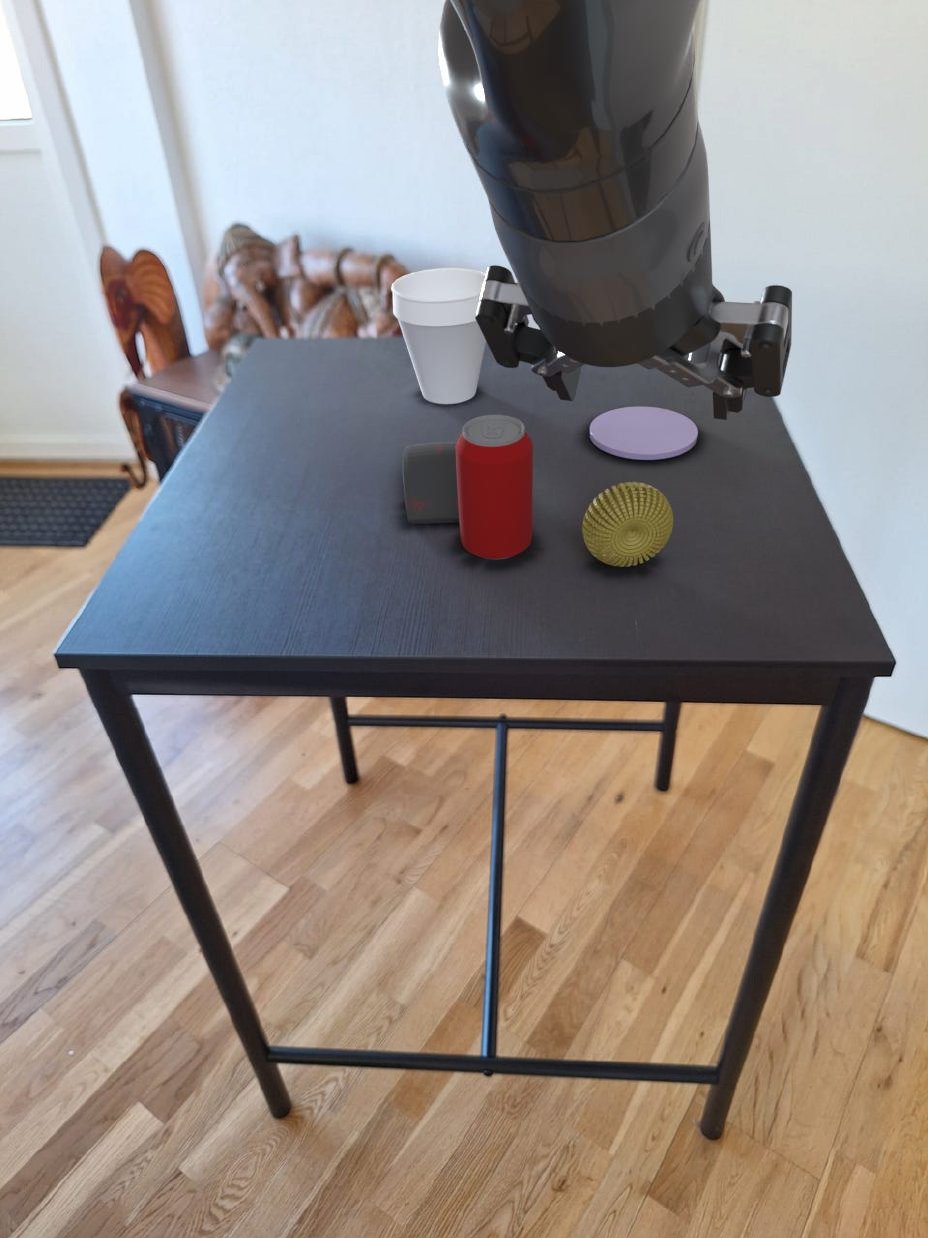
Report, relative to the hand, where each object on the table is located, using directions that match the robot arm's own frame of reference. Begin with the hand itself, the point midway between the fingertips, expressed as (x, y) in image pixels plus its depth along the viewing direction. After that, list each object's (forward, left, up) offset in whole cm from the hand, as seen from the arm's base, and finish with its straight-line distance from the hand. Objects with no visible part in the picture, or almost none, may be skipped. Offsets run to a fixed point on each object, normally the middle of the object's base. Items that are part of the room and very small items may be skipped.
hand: (645, 393), depth 47 cm
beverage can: (+16, -17, -25) cm, 34 cm away
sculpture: (+4, -18, -25) cm, 31 cm away
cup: (+34, -48, -25) cm, 64 cm away
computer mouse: (+25, -25, -25) cm, 43 cm away
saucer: (+8, -43, -24) cm, 50 cm away
